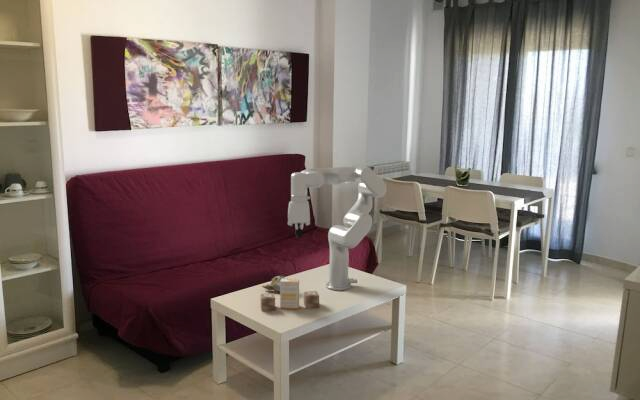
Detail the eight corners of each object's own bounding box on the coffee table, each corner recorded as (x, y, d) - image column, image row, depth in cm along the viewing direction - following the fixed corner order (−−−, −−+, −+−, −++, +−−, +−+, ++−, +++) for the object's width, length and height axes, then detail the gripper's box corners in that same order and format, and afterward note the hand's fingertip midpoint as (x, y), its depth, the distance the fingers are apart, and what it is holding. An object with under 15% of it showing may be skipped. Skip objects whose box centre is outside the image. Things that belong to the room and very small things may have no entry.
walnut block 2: (316, 303, 253) (316, 290, 252) (319, 308, 247) (319, 295, 246) (303, 304, 252) (304, 291, 251) (306, 308, 246) (306, 295, 245)
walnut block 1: (273, 305, 249) (273, 292, 248) (275, 310, 244) (275, 297, 242) (260, 306, 248) (260, 293, 247) (261, 311, 242) (261, 298, 241)
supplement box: (299, 305, 250) (299, 278, 247) (297, 309, 245) (298, 281, 243) (281, 304, 250) (281, 277, 248) (279, 308, 246) (279, 280, 243)
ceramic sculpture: (283, 279, 259) (260, 274, 268) (284, 297, 260) (261, 292, 269) (297, 274, 267) (275, 270, 276) (298, 291, 268) (275, 286, 277)
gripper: (313, 197, 259) (313, 234, 262) (282, 197, 256) (282, 235, 259) (316, 200, 252) (315, 238, 255) (284, 200, 249) (283, 239, 252)
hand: (298, 237), depth 257 cm, fingers closed
